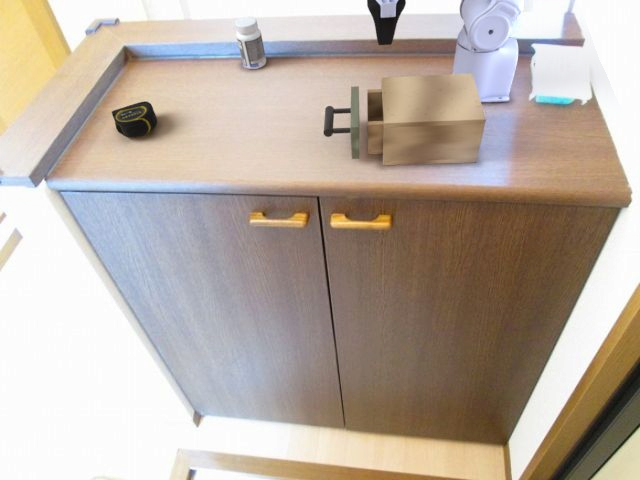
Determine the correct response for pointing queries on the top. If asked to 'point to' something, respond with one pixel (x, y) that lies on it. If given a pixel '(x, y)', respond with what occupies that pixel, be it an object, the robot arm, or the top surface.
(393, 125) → the cabinet
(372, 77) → the top surface
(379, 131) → the drawer
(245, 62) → the pill bottle
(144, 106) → the tape measure
